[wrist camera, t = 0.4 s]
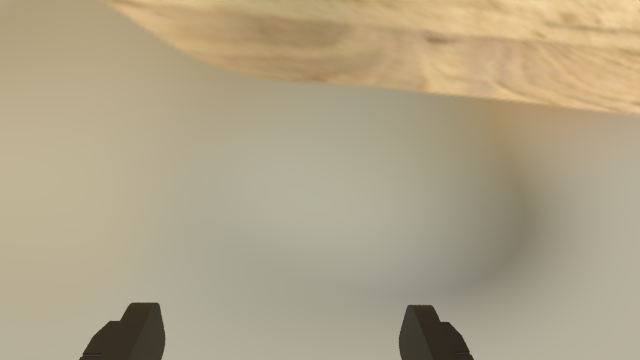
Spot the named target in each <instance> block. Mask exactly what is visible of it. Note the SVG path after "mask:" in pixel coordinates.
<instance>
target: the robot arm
mask: <svg viewBox="0 0 640 360" xmlns="http://www.w3.org/2000/svg"><path fill="white" fill-rule="evenodd" d="M164 347H165V332H164V326H163V321H162V316H161V310H160V305H159V304H158V303H131V304H130V305H129V306H128V308H127V310H126V311H125V313H124V315H123V317H122V318H121V320H120V321H110V322H108V323H107V324H106V325H105V326H104V327H103V328H102V329H101V330H99V331H98V332H97V333H96V334H95V335H94V336H93V338H92V339H91V341H90V343H89V344H88V346H87V348H86V349H85V351H84V353H83V356H82V357H80V359H79V360H161V358H162V355H163V352H164ZM399 349H400V355H401V358H402V360H474V359H473V357H472V355H470V353H469V352H470V351H469V349H468V347H467V345H466V343H465V341H464V339H463V337H462V336H461V334H460V333H459V332H458V331H457V330H456V329H455V328H454V327H453V326H452V325H451V324H450V323H449V322H440V320H439V317H438V315H437V313H436V311H435V309H434V308H433V306H431V305H408V307H407V309H406V313H405V316H404V320H403V324H402V327H401V331H400V335H399Z"/></svg>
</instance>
